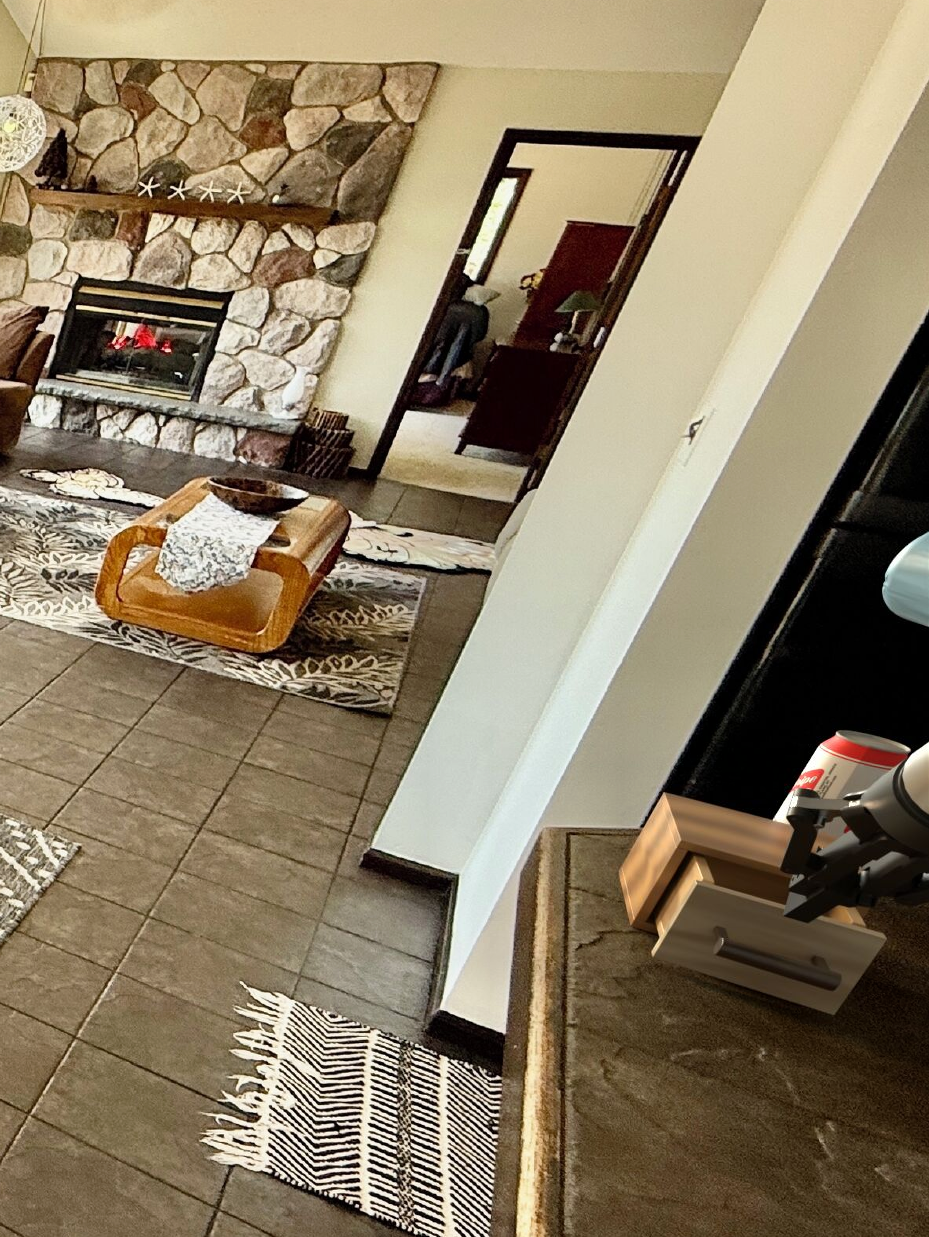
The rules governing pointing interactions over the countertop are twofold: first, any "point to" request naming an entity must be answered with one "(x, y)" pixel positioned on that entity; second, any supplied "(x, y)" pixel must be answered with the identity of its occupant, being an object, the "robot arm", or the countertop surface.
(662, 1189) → the countertop surface
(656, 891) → the cabinet
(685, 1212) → the countertop surface
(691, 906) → the drawer
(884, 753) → the beer can
